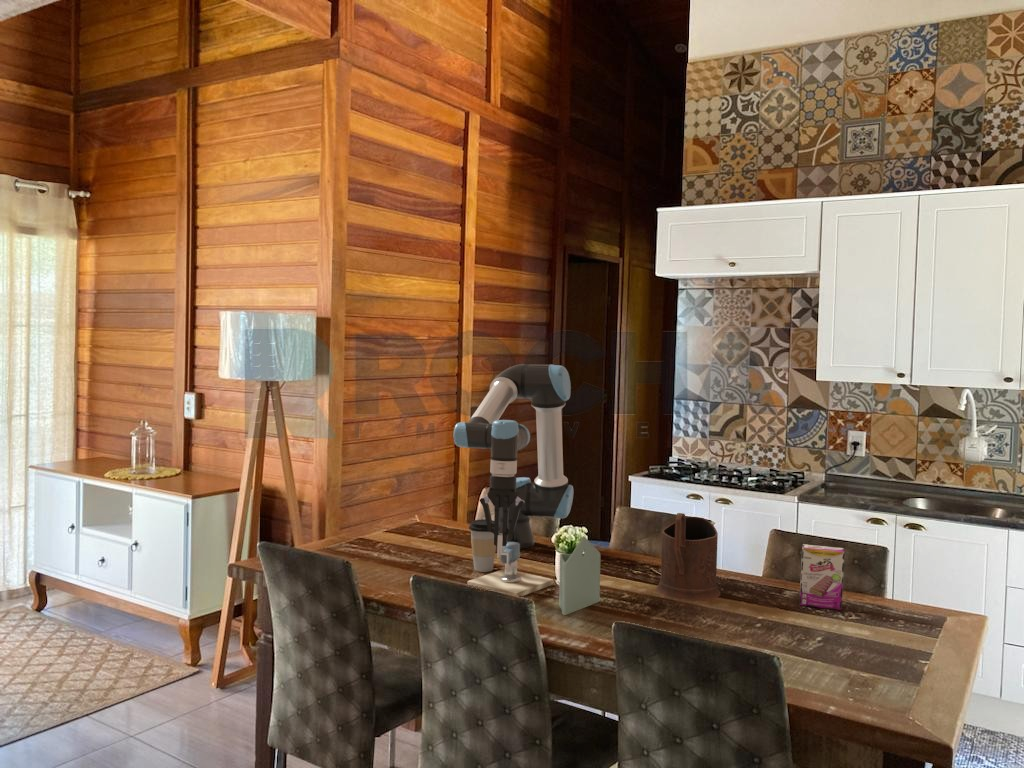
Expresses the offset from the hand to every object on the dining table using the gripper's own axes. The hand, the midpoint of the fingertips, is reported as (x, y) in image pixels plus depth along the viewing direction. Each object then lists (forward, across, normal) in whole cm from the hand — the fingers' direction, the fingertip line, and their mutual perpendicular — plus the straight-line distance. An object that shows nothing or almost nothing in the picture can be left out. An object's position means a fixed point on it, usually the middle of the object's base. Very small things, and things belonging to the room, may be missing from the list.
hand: (500, 556), depth 246 cm
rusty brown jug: (+9, +53, +10) cm, 55 cm away
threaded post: (+9, +2, +8) cm, 12 cm away
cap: (+2, +2, +4) cm, 5 cm away
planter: (+10, +21, -7) cm, 25 cm away
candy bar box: (+9, +89, +6) cm, 90 cm away
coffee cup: (+10, -9, +23) cm, 27 cm away
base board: (+10, +2, +8) cm, 13 cm away
